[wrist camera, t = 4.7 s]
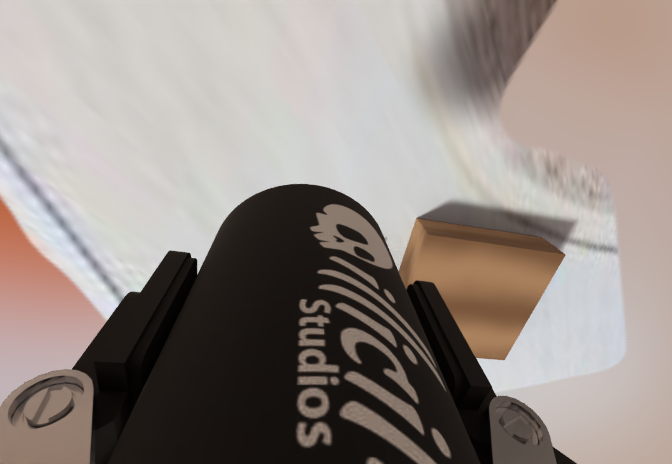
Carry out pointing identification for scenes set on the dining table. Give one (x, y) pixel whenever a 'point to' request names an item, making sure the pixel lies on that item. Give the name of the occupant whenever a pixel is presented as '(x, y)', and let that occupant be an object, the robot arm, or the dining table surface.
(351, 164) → the dining table surface
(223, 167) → the dining table surface
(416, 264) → the walnut base
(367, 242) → the beverage can
